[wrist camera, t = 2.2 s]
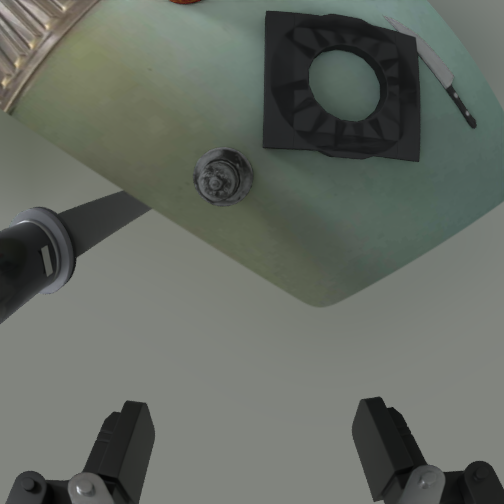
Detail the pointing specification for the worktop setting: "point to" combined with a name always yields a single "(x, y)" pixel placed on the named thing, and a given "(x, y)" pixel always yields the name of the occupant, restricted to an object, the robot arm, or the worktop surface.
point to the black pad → (307, 108)
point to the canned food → (185, 1)
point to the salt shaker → (223, 176)
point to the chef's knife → (435, 67)
